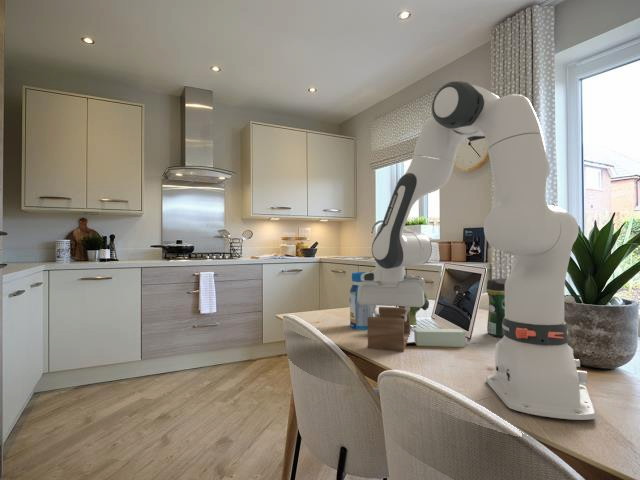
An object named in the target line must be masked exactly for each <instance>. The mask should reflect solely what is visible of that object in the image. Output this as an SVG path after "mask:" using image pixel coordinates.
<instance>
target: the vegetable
mask: <svg viewBox="0 0 640 480" xmlns="http://www.w3.org/2000/svg"><path fill="white" fill-rule="evenodd" d="M423 293H424V305H423V306H422V307H410V325H417V317H416V315H417V313H418V312H419V311H420V310H421V309H422V310H423V311H427V309H428V308H429V307H430V302H429V299H427V298H428V297H427V295H426V293H425V292H424V291H423ZM395 307H398V308H405V307H404V306H395ZM417 326H418V325H417Z"/></svg>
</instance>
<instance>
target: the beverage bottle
mask: <svg viewBox="0 0 640 480" xmlns="http://www.w3.org/2000/svg"><path fill="white" fill-rule="evenodd" d="M367 272H368V271H366V272H365V271H354V272H351V282H352V283H353V284H352V286H351V287H350V290H349V293H350V296H349V322H350V323H349V327H350V328H351V329H353V330H358V331H368V317H374V313H373V311H372V310H371V305H361V304H359V303H358V302H357V293H358V286H359V284H360V283H361V282H363V281H362V280H361V275H362V274H364V273H367Z"/></svg>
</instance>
